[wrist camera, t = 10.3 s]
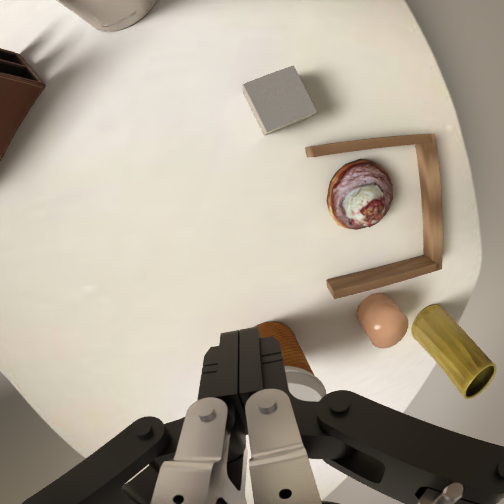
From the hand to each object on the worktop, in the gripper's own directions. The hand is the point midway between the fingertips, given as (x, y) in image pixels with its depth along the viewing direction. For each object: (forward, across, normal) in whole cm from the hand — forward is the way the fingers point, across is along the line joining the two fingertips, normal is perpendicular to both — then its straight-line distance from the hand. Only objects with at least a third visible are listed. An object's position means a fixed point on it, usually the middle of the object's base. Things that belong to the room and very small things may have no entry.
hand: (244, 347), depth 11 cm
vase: (+20, -23, +19) cm, 36 cm away
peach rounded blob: (+20, -14, +14) cm, 28 cm away
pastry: (+21, -13, -1) cm, 25 cm away
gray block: (+21, -6, -12) cm, 25 cm away
